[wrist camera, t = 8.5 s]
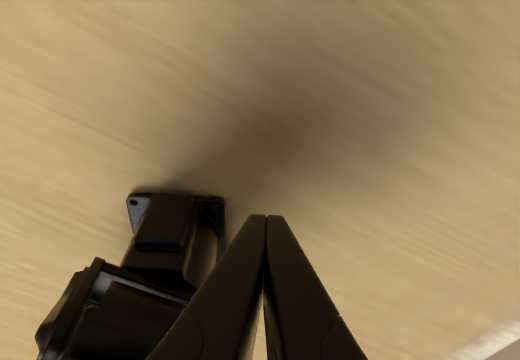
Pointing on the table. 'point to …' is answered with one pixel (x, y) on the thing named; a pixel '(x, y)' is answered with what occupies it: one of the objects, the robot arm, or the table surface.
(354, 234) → the table surface
